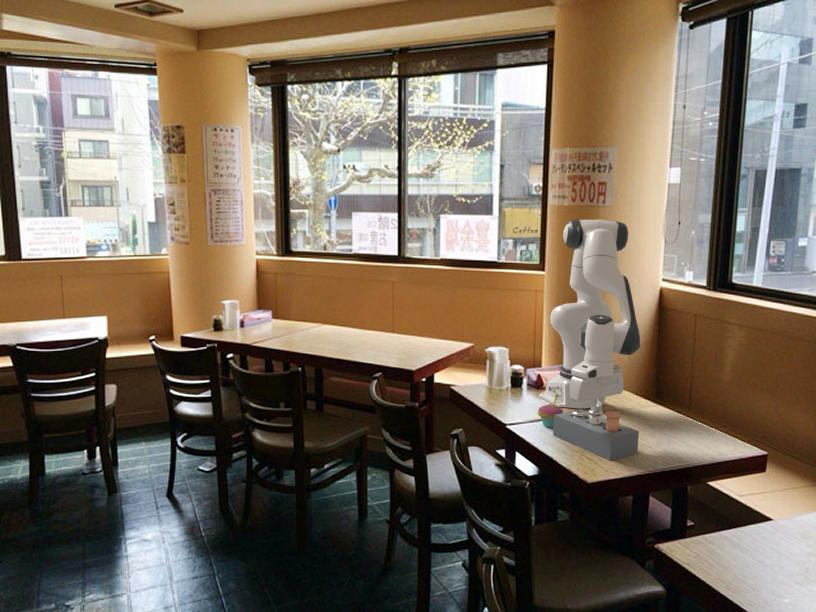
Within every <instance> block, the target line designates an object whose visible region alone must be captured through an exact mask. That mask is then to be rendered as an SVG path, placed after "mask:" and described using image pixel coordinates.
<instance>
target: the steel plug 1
mask: <svg viewBox="0 0 816 612" xmlns="http://www.w3.org/2000/svg"><path fill="white" fill-rule="evenodd" d="M579 410H580V409H576V410H572V415H573V417H574V418H576V419H583V418H585V416H586V413H585V412H584V411H585V410H584V411H579Z"/></svg>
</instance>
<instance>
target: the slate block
mask: <svg viewBox="0 0 816 612" xmlns="http://www.w3.org/2000/svg"><path fill="white" fill-rule="evenodd" d="M578 410H579V411H584V412H585V413H586V416H585V418H583V419H576V418H574V417H573V415H572V411H573V410H572V411H571V410H570V411H566V412H563V413H561V414H556V415H554V427H553V432H552V433H553V434H552V435H553V437H556V438H558V439H560V440H563V441H565V442H567V443H569V444H571V445H574V446H575V447H576V446H577V448H578V447H579V448H581V449H583V450H585V451H587V452H590V453H591V454H594V455H596V456H599V457H601V458H602V459H605V460H607V461H613V460H617V459H621V458H625V457H629V456H632V455H636V454H638V452H639V451H638V448H639V435H640V431H639V430H637V429H634V428H631V427H629V426H626V425H623V424H621V423H619V428H618V432H614V433H612V432H609V431H607V430H606V421H607V418H605V417H602V416H601V425H597V426H594V425H592V424H589V415H590V414H589V411H586V410H583V409H578Z"/></svg>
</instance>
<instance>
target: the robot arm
mask: <svg viewBox="0 0 816 612" xmlns="http://www.w3.org/2000/svg"><path fill="white" fill-rule="evenodd" d="M562 233H563V234H562V238H563V242H564V245H565V246H566V247H567V248H568V249H571V250H574V251H573V256H572V261H571V270H570V277H569V285H570V288H571V289H572V290H573V291H574V292H575V293H576V296H577V301H576V302H571V303H569V302H568V303H564V304H560V305H558V306H555V307H554V308H553V309H552V310H551V313H550V317H549V320H550V321H549V322H550V325H551V327H552V328H553V329H554V330H555V331H556V332H557V333H558V334H559V337H560V339H561V342H562V345H563V346H562V347H563V359H562V360H563V361H562V362H563V364H562V365H561V366H559V367H558V368H557V370H559V374H557V375H556V376H555V377H553V378H552V379H550V380H549V381H547V382H546V385H545V391H542V392H541V393H539V395H538V396H539V397H540V398H541V399H543V400H545V401H546V402H548V403H549V404H551V405H553V404H554V399H555V394H556V393H557V399H556V404H555V405H556V406H558V407H560V408H571V409H589V408H590V409H591V411H592V412H597V411H601V410H602V409H603V405H604V403H605V400H606V398H607V397H611V396H616V395H620V394H622V393H623V392H624V376H623V369H622V367H621V366H620V365H618V364H615V365H614V354H619V355H622V356H623V355H624V356H632V355H633V354H635V353H636V352H637V351H639V350H640V347H641V342H642V336H641V332H640V329H639V326H638V325H639V324H638V321H637V316H636V311H635V305H634V301H633V300H634V299H633V295H632V291H631V286H630V282H629V279H628V277H627V276H625V275H624V274H622V272H621V271H620V269H619V265H618V252H620V251H622V250H624V249H625V248H626V246H627V243H628V241H629V229H628V226H627V224H625V223H623V222H621V221H618V220H617V221H613V220H612V221H611V220H606V219H580V218H579V219H571V220H568V222H566V225H565V227H564V228H563V232H562ZM602 291H603V292H607V293H609V294H611V295H613V296H614V298H616V299H617V300H618V303H619V307H620V314H621V319H622V322H621V323H619V322H618V323H616V322H614V319H613V317H612V316H611V315H612V314H611V310H610V308H609V306H608V305H607V304H606V302H605V301H604V299H603V296H602ZM557 391H558V392H557ZM602 411H603V410H602Z"/></svg>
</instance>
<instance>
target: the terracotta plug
mask: <svg viewBox="0 0 816 612" xmlns="http://www.w3.org/2000/svg"><path fill="white" fill-rule="evenodd" d="M605 416H606V419H607V421H606V430H607V431H609V432H612V433H614V432H618V428H619V424H620V418H621V412H619V411H612V410H611V411H610V410H609V411H606V412H605Z"/></svg>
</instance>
